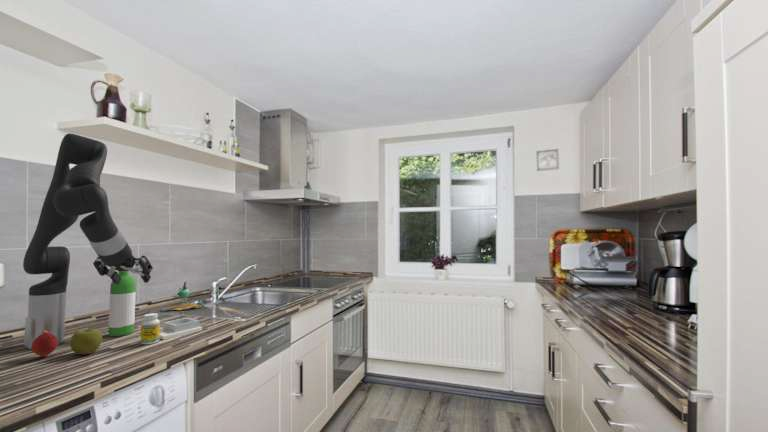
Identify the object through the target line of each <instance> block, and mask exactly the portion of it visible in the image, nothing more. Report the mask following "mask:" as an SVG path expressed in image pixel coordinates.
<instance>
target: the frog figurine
mask: <svg viewBox="0 0 768 432" xmlns="http://www.w3.org/2000/svg"><path fill="white" fill-rule="evenodd" d="M186 286H187V281H184V282H183V286H182V288H179V290H178V292H177V294H176V295H177V296H176V295H175V294H174V295H172V296H173V297H176V298H174V301H176V300H177V299H178V300H179V302H178V304H176V306H173V307H169V308H167V309H168V310H169V311H185V310H188V309H189V310H190V309H192V308H193V309H194V308H196V309H204V308H206V306H205V304H204V302H203V300H201V298H199V299H198V301H197V303H191V302H190V301H192V300H193V301H195V299H194V295H193V292H190V290H189V289H188V287H186ZM191 295H192V298H191V299H190V300H189V298H190V296H191ZM183 301H184V304H182V302H183ZM185 303H187V304H185ZM168 310H167V311H168Z"/></svg>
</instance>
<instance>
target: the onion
mask: <svg viewBox="0 0 768 432" xmlns="http://www.w3.org/2000/svg"><path fill="white" fill-rule="evenodd" d="M58 346H59V344H58V340H57V338H56V337H55V336H54V335H53V334H51V333H49V332H47V331H43V332H42V334H41V335H40V336H38V337H37V338H36V339H35V340H34V341H33V343H32V346H31V349H30V350H31V351H32V352H33V353H34V354H35V355H37V356H39V357H41V358H46V357H47V356H48V355H50V354H52V353H53V352H54V351H55V350H56V349H57V348H58Z"/></svg>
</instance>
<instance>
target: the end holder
mask: <svg viewBox="0 0 768 432" xmlns="http://www.w3.org/2000/svg"><path fill="white" fill-rule="evenodd" d="M201 331H203V326H200V320H199V319H195V318H191V317H183V318H178V319H172V320H169V321H163V323H162V327H160V335H159V340H160V339H161V340H163V341H165V340H167V339H168V340H169V339H172V338H177V337H180V336H184V335H185V336H186V335H189V334H193V333H196V332H201Z"/></svg>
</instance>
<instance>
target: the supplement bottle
mask: <svg viewBox="0 0 768 432" xmlns="http://www.w3.org/2000/svg"><path fill="white" fill-rule="evenodd" d="M158 316H159V315H158V313H157V312H156V313H152V312H151V313H146V314H144V315H143V321H142V322H141V323H140V325H141V326H140V344H141V345H143V346H144V345H153V344H156V343H158V342H160V338H159V335H160V328H161V327H160V326H161V322H160V319H158Z"/></svg>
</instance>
